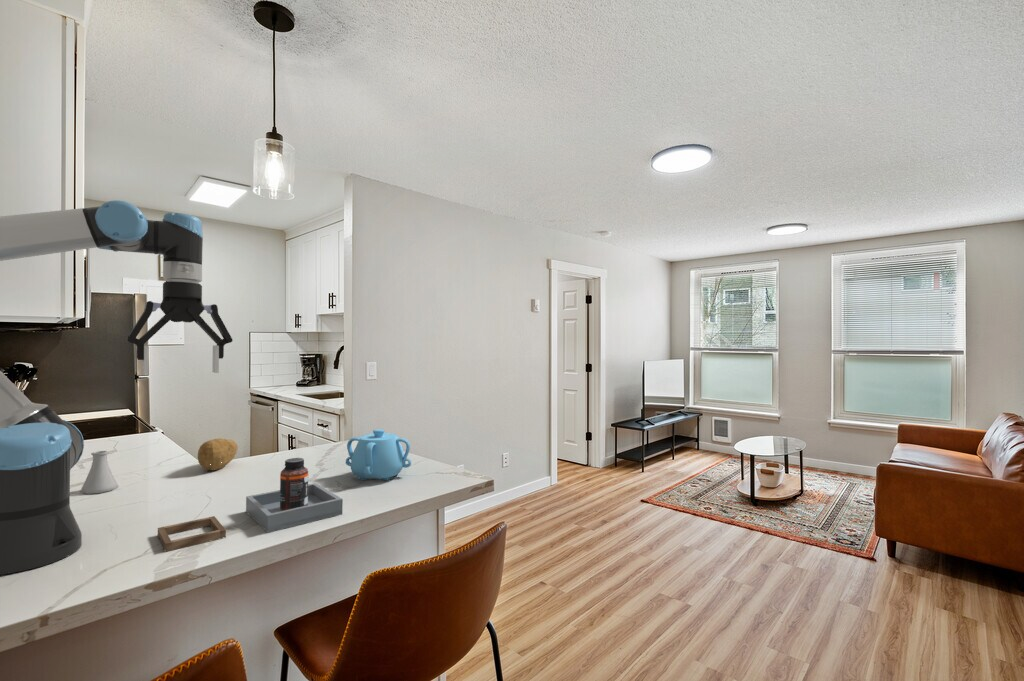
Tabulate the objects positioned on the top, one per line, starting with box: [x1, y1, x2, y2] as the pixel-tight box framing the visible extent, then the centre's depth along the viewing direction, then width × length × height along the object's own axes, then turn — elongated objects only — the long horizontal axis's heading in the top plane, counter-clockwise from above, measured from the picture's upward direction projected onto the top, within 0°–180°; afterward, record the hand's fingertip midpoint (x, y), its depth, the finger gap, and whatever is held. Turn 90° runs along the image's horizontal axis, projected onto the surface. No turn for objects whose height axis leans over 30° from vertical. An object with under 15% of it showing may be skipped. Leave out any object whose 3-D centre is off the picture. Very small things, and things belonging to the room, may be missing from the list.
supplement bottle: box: [279, 457, 309, 511], centre depth 112 cm, size 6×6×11 cm
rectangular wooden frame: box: [157, 515, 227, 553], centre depth 98 cm, size 10×10×2 cm
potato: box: [197, 437, 239, 471], centre depth 148 cm, size 9×16×9 cm, turn 4°
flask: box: [79, 450, 119, 495], centre depth 125 cm, size 7×7×10 cm
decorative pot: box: [345, 428, 412, 481], centre depth 142 cm, size 16×16×14 cm
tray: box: [245, 482, 344, 533], centre depth 112 cm, size 16×16×4 cm
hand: (181, 373), depth 112 cm, fingers open, 13 cm apart
